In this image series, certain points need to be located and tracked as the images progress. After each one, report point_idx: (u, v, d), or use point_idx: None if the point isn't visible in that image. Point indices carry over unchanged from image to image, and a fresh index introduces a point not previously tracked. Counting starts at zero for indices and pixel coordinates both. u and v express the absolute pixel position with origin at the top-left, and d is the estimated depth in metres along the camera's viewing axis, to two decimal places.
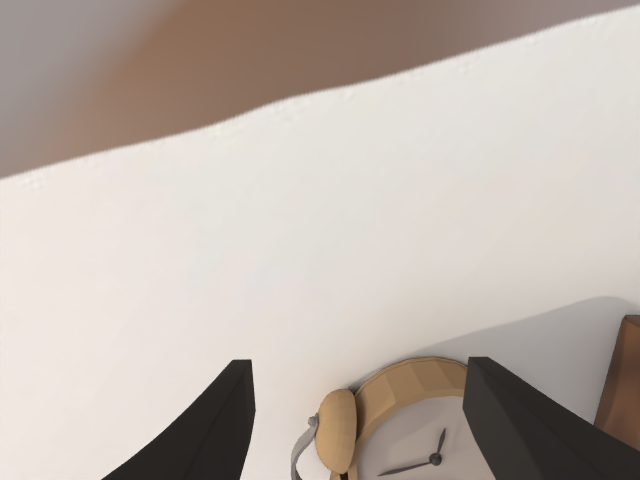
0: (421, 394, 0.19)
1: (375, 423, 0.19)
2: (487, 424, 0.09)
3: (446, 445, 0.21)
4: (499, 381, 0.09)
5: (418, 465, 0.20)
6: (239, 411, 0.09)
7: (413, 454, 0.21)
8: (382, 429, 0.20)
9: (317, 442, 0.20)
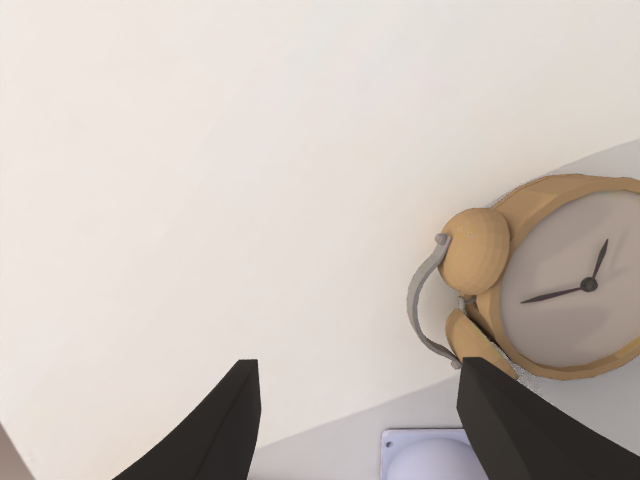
0: (589, 185, 0.15)
1: (530, 224, 0.16)
2: (480, 424, 0.09)
3: (602, 267, 0.17)
4: (492, 381, 0.09)
5: (570, 290, 0.17)
6: (246, 411, 0.09)
7: (563, 277, 0.17)
8: (532, 240, 0.16)
9: (451, 257, 0.17)
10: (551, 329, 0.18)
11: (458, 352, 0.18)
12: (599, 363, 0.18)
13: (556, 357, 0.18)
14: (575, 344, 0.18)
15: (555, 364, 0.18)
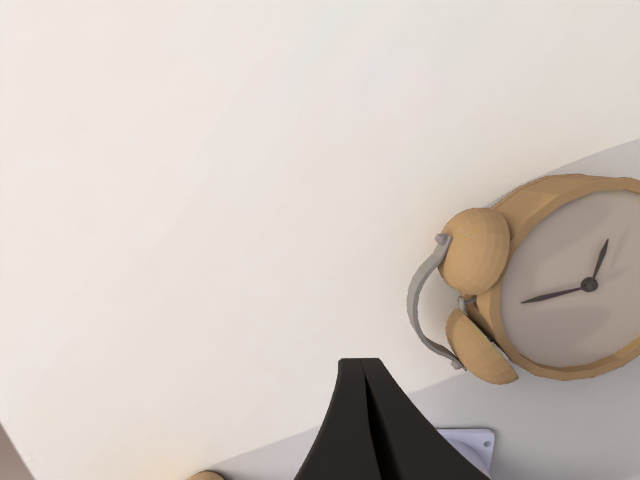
0: (589, 185, 0.15)
1: (530, 224, 0.16)
2: None
3: (603, 267, 0.17)
4: (370, 383, 0.09)
5: (570, 290, 0.17)
6: None
7: (563, 277, 0.17)
8: (532, 240, 0.16)
9: (452, 257, 0.17)
10: (552, 329, 0.18)
11: (458, 352, 0.18)
12: (599, 363, 0.18)
13: (556, 357, 0.18)
14: (575, 344, 0.18)
15: (555, 364, 0.18)
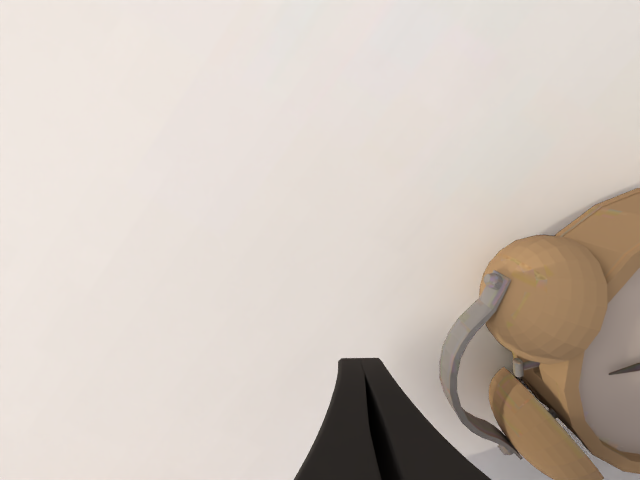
0: None
1: (634, 264, 0.10)
2: None
3: None
4: (370, 383, 0.09)
5: None
6: None
7: None
8: (631, 285, 0.11)
9: (511, 310, 0.11)
10: None
11: (512, 437, 0.13)
12: None
13: None
14: None
15: None
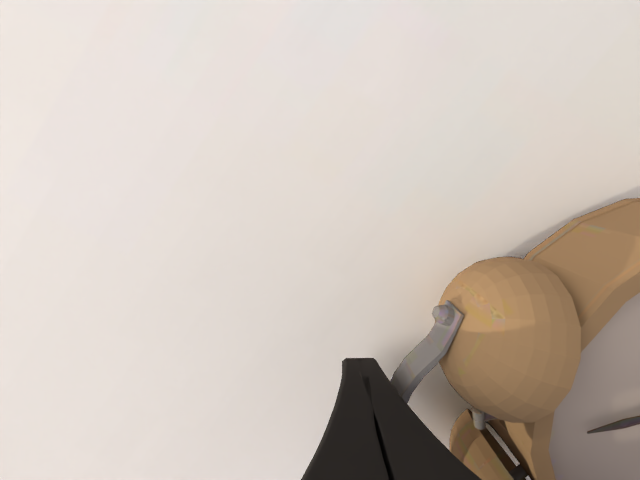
0: None
1: (617, 300, 0.08)
2: None
3: None
4: (364, 383, 0.09)
5: None
6: None
7: None
8: (614, 323, 0.09)
9: (463, 354, 0.09)
10: (636, 468, 0.10)
11: None
12: None
13: None
14: None
15: None
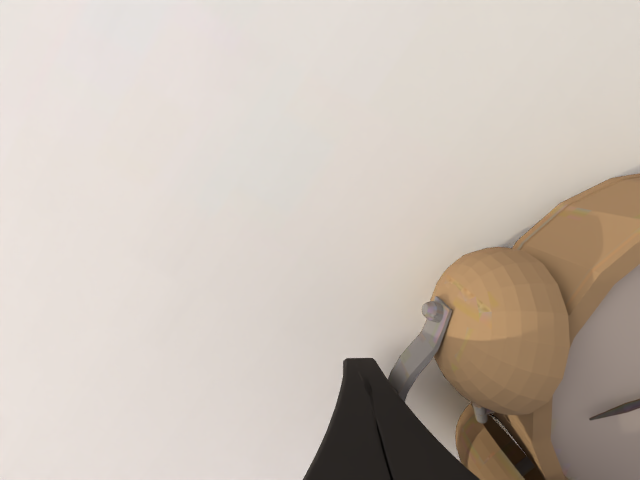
0: None
1: (605, 283, 0.08)
2: None
3: None
4: (363, 383, 0.09)
5: None
6: None
7: None
8: (606, 307, 0.09)
9: (454, 349, 0.09)
10: None
11: None
12: None
13: None
14: None
15: None
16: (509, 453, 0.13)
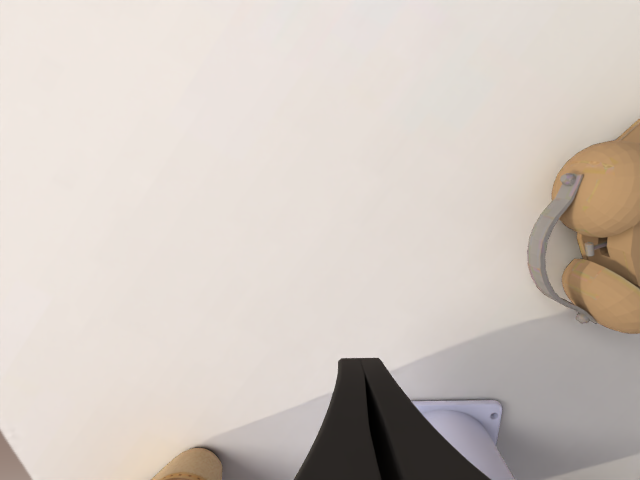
0: None
1: None
2: None
3: None
4: (370, 383, 0.09)
5: None
6: None
7: None
8: None
9: (586, 196, 0.15)
10: None
11: (589, 303, 0.17)
12: None
13: None
14: None
15: None
16: None
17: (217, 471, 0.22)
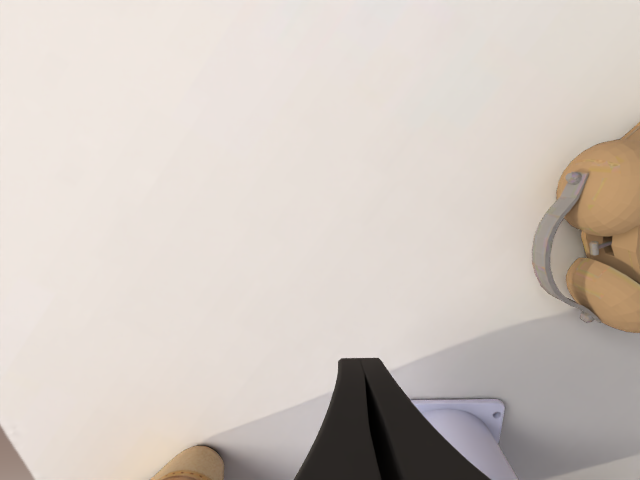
0: None
1: None
2: None
3: None
4: (370, 382, 0.09)
5: None
6: None
7: None
8: None
9: (591, 195, 0.15)
10: None
11: (594, 302, 0.17)
12: None
13: None
14: None
15: None
16: None
17: (219, 469, 0.22)
